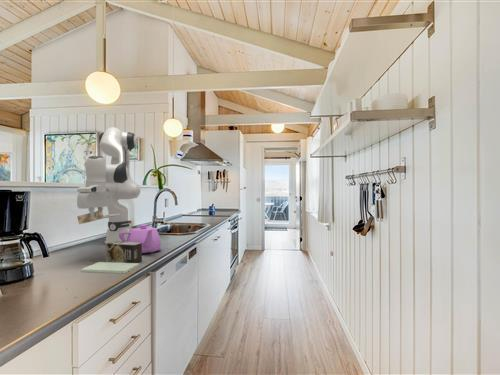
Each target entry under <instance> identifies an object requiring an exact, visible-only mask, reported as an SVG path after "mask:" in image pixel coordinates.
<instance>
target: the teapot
mask: <svg viewBox="0 0 500 375" xmlns="http://www.w3.org/2000/svg"><path fill="white" fill-rule="evenodd" d="M124 234H128V236H127V240H125V238H124ZM119 237H120V239H121V240H122V241H123V242H136V243H142V254H147V253H151V254H152V253H155V252H157V251H159V250H160V248H161V247H162V244H161V243H162V241H161V237H160V234H159V232H158V229H157V228H156V227H154V226H148V224H145V223H144V224H140V225H139V227H134V228H132V229H131V230H130V232H127V231H124V232H120V233H119Z"/></svg>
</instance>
